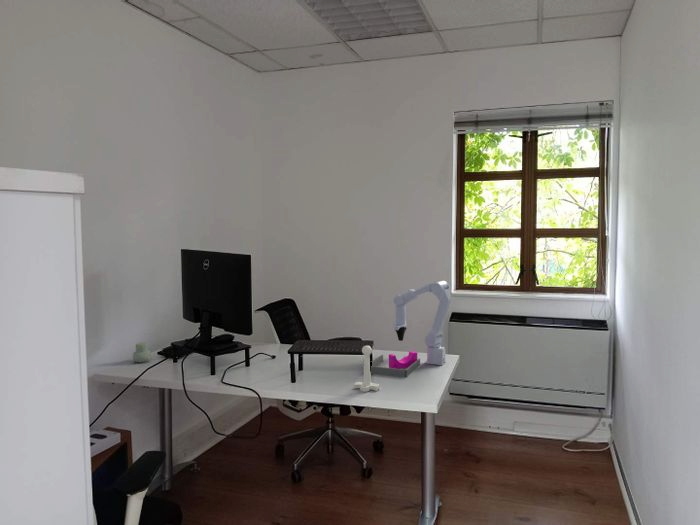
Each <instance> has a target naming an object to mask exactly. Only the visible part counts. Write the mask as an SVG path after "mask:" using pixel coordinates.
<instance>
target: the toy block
mask: <svg viewBox="0 0 700 525" xmlns="http://www.w3.org/2000/svg"><path fill="white" fill-rule="evenodd" d="M416 360H418V352H417V351H414V350H412V351H408V355H405V356H403V357H402V358H401V359H397V356H396V355H395V354H393V353H389V354H388V368H394V369H403V370H404V369H407V368H408V367H409V366H410V365H412V364H413V363H414V362H415V361H416Z"/></svg>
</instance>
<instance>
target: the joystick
mask: <svg viewBox="0 0 700 525" xmlns="http://www.w3.org/2000/svg"><path fill="white" fill-rule="evenodd" d="M372 350H373V349H372V347H371V346H370V345H363V347H362V348H361V352H362V354H363V356H364V359H363V379H362V380H363V381H356V382H355V383H354V386H353V387H354V389H360V391H361V392H363V393H368V392H369V391H370V390H373V391H376V392H377V391H380V384H379V383H374V382H372V375H371V374H372V373H371V372H370V362H371V361H370V360H371V359H370V358H371V357H370V356H371V354H372V353H373V351H372Z"/></svg>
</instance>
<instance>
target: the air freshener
mask: <svg viewBox="0 0 700 525" xmlns="http://www.w3.org/2000/svg"><path fill="white" fill-rule="evenodd" d="M151 356H152V353H151V351H150V350H149V349H148V343H147V342H138V343H135V351H134V352H133V354H132V361H133V362H135V363H147V362H148V361H151V359H152V358H151Z"/></svg>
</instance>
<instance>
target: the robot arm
mask: <svg viewBox="0 0 700 525" xmlns="http://www.w3.org/2000/svg"><path fill="white" fill-rule="evenodd" d="M450 289H451V287H450V285H449V283H448V282H447V281H445V280H440V281H434V282H431V283H428V284H426V285H423V286H421V287H420V288H419V287H418V288H417V289H413V288H412V289H411V288H408V289H407V291H404V292H401V293H400V294H398V295H395V296H394V297H393V303H394V305H395V323H393V326H394V331H395V332H396V335H397V339H398V341H399V342H402V341H404V337H405V333H406V330H407V327H406V326H407V324H408V323H407V304H408V303H410V302H412V301H415V300H417V299H418V296H421V295H422V294H423V295H424V294H425V293H428V292H429V293H432V294H433V295H434V296H435V297H436V298H438V300H439V303H438V306H437V309H436V313H435V316H434V319H433V323H432V326H431V329H430V330H429V331H428V334H427V335H426V336H425V338H424V344H425V345H426V361H425V362H424V364H428V365H438V366H443V365H444V364H445V363H446V362H447V361H446V348H445V346H442V345H441V344H442V342H443V341H444V337H443V336H444V335H443V334H444V332H443V327H444V325H445V320H446V317H447V315H448V310H449V307H450V304H451V302H452V298H451V297H452V296H451V293H450V292H451V291H450Z"/></svg>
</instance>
